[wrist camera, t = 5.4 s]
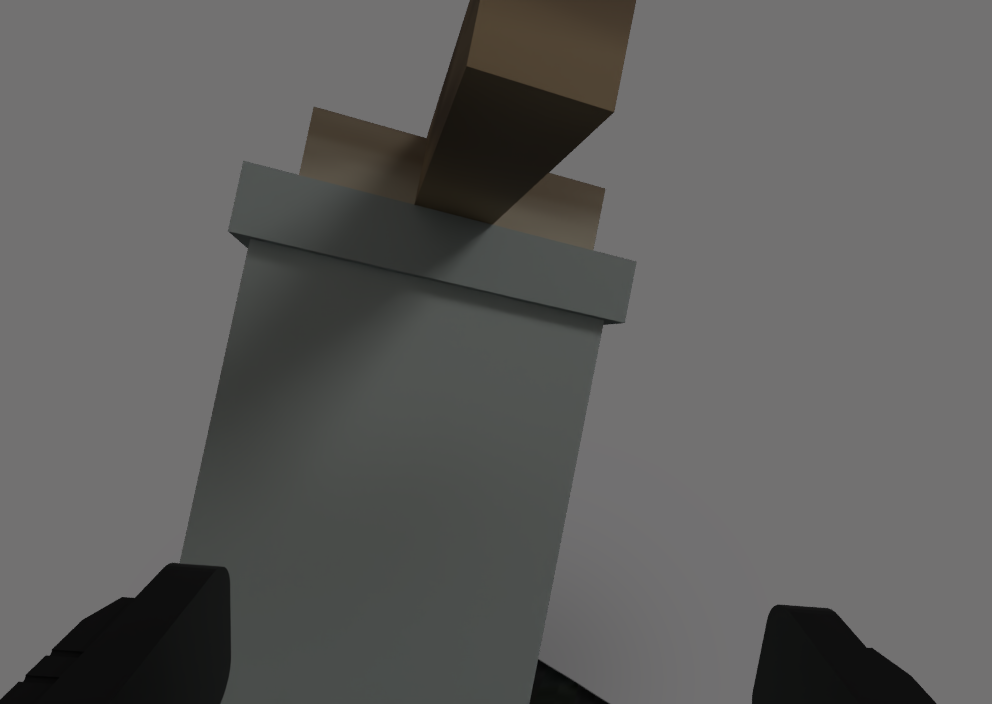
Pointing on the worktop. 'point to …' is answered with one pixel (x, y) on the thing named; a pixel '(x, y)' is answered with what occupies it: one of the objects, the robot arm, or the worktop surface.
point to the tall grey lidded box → (394, 445)
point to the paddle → (497, 121)
